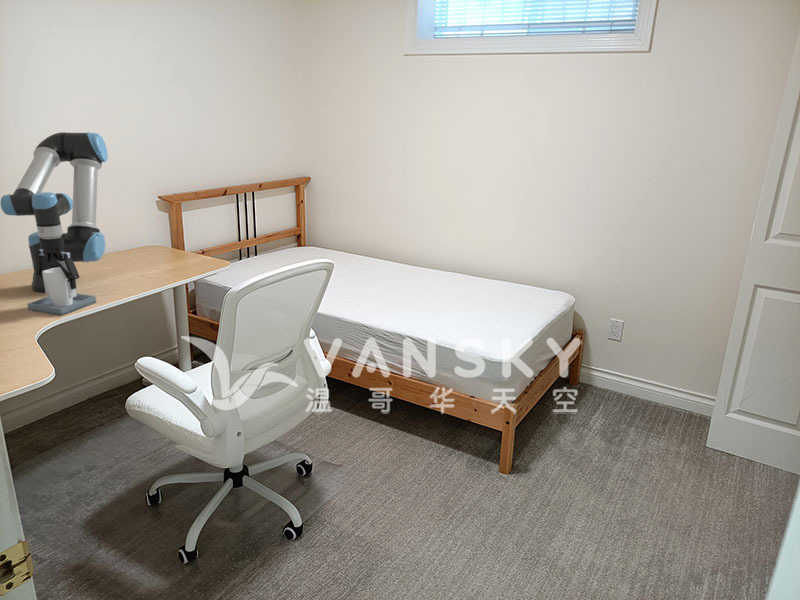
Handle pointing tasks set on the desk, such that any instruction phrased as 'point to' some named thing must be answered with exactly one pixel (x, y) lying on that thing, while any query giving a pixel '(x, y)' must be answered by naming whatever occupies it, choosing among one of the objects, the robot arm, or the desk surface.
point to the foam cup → (57, 287)
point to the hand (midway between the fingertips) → (61, 295)
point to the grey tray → (47, 306)
